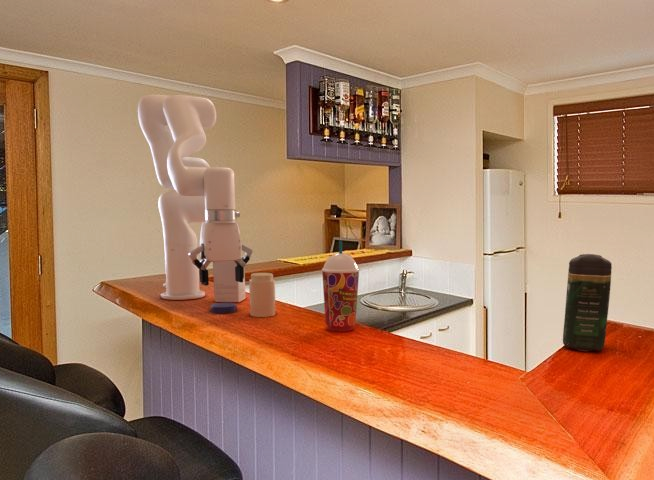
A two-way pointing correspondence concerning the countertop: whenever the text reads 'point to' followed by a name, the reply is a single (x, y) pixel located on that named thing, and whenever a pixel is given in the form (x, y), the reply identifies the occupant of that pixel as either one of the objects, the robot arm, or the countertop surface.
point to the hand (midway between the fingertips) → (222, 283)
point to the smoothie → (340, 291)
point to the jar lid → (223, 308)
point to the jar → (262, 295)
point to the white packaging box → (227, 282)
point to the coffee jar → (587, 302)
